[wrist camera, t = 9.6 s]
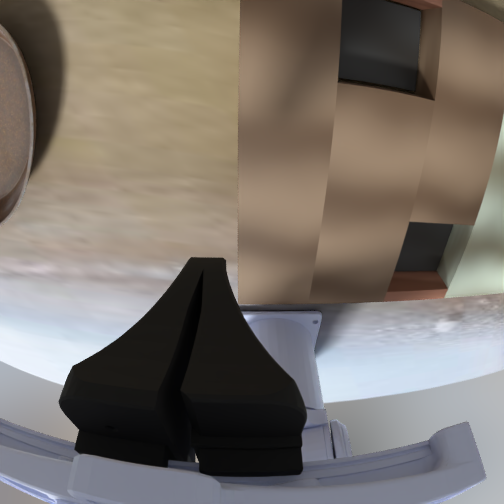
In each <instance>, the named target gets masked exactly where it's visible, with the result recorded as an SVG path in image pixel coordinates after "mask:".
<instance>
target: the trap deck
mask: <svg viewBox="0 0 504 504" xmlns="http://www.w3.org/2000/svg"><path fill="white" fill-rule="evenodd" d="M390 1H394V2H397V3H401V4H404V5H408V6H411V7H414V8H417V9H420V10H421V11H418V10H415V9H412V8H409V7H405V6H402V5H398V4H395V3H391V2H388V1H384V0H240V44H239V109H238V304H332V303H364V302H387V301H406V300H423V299H438V298H452V297H464V296H476V295H487V294H497V293H504V23H503V22H502V21H500V20H498V19H496V18H494V17H492V16H491V15H489V14H487V13H485V12H483V11H481V10H479V9H477V8H475V7H473V6H471V5H469V4H466V3H464V2H462V1H460V0H390ZM420 26H421V35H420ZM419 44H420V50H419ZM418 58H419V63H418ZM417 69H418V73H417ZM338 78H344V79H352V80H358V81H365V82H371V83H376V84H382V85H387V86H392V87H397V88H402V89H407V90H411V91H415V88H416V91H415V94H412V93H407V92H403V91H398V90H393V89H388V88H382V87H377V86H371V85H365V84H359V83H352V82H345V81H338ZM416 79H417V83H416Z"/></svg>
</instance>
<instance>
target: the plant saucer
mask: <svg viewBox="0 0 504 504" xmlns="http://www.w3.org/2000/svg"><path fill="white" fill-rule="evenodd" d="M35 140H36V106H35V98H34V91H33V86H32V81H31V77H30V73H29V70H28V67H27V64H26V62H25V59H24V57H23V54H22V52H21V50H20V48H19V47H18V45H17V43H16V42H15V40H14V38H13V37H12V36H11V34H10V33H9V32H8V31H7V30H6V29H5V28H4V27H3V26H2V25H1V24H0V227H1V226H2V225H3V224H5V223H6V222H7V221H8V220H9V219H10V218H11V216H12V215H13V214H14V212H15V211H16V210H17V208H18V206H19V204H20V202H21V200H22V198H23V195H24V193H25V190H26V186H27V183H28V180H29V176H30V173H31V168H32V163H33V157H34V150H35Z"/></svg>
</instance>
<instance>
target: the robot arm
mask: <svg viewBox="0 0 504 504" xmlns="http://www.w3.org/2000/svg"><path fill="white" fill-rule="evenodd" d="M314 320H316V321H314ZM321 320H322V314H321V312H319V311H287V312H241V310H240V308H239V306H238V304H237V301H236V299H235V297H234V294H233V292H232V289H231V286H230V283H229V280H228V276H227V271H226V260H225V259H224V258H197V257H191V258H190V259H189V260H188V262H187V263H186V265H185V266H184V268H183V269H182V271H181V272H180V273H179V275H178V276H177V278H176V279H175V280H174V282H173V283H172V284H171V286H170V287H169V288H168V289H167V291H166V292H165V293H164V294H163V296H162V297H161V298H160V299H159V300H158V301H157V303H156V304H155V305H154V306H153V307H152V308H151V309H150V310H149V311H148V312H147V313H146V314H145V315H144V316H143V317H142V318H141V319H140V320H139V321H138V322H137V323H136V324H135V325H134V326H133V327H131V328H130V329H129V330H128V331H127V332H125V333H124V334H123V335H122V336H121V337H119V338H118V339H117V340H115V341H114V342H112V343H111V344H110V345H108V346H107V347H105V348H104V349H102V350H101V351H99V352H97V353H96V354H94V355H92V356H91V357H89V358H87V359H85V360H83V361H82V362H80V363H78V364H76V365H74V366H73V367H72V369H71V371H70V373H69V375H68V377H67V379H66V382H65V385H64V388H63V390H62V393H61V396H60V399H59V405H60V408H61V409H62V411H63V412H64V414H65V415H66V416H67V417H68V418H69V419H70V420H71V421H72V423H73V424H74V425H75V426H76V427H77V428H78V429H79V433H78V436H77V440H76V443H74V442H70V441H66V440H63V439H59V438H56V437H52V436H49V435H46V434H43V433H40V432H36V431H34V430H31V429H28V428H25V427H22V426H19V425H17V424H14V423H11V422H9V421H6V420H3V419H1V418H0V480H1V481H3V482H4V483H6V484H8V485H10V486H13V487H15V488H17V489H19V490H21V491H23V492H25V493H27V494H29V495H32V496H34V497H36V498H39V499H41V500H43V501H46V502H48V503H50V504H439V503H441V502H444V501H446V500H448V499H451V498H453V497H455V496H457V495H459V494H461V493H463V492H465V491H466V490H468V489H470V488H472V487H474V486H475V485H477V484H479V483H481V482H482V481H484V480H485V479H486V474H485V471H484V467H483V464H482V461H481V457H480V454H479V451H478V448H477V445H476V442H475V439H474V436H473V433H472V431H471V428H470V425H469V422H463V423H460V424H457V425H453V426H450V427H447V428H444V429H442V430H440V431H438V432H436V433H435V434H434V435H433V436H432V437H431V438H430V439H429V440H428V441H423V442H420V443H416V444H412V445H408V446H404V447H399V448H395V449H390V450H385V451H381V452H376V453H370V454H364V455H358V456H352V451H351V445H350V441H349V436H348V432H347V428H346V426H345V425H344V424H342V423H341V422H339V421H338V420H337V419H335V420H331V421H330V427H331V438H330V432H329V427H328V420H327V415H326V409H324V405H323V399H322V393H321V387H320V381H319V376H318V370H317V364H316V359H315V353H314V348H315V344H316V340H317V336H318V332H319V328H320V324H321ZM331 440H332V444H331ZM195 454H196V456H197V458H198V461H199V463H196V462H195Z"/></svg>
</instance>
